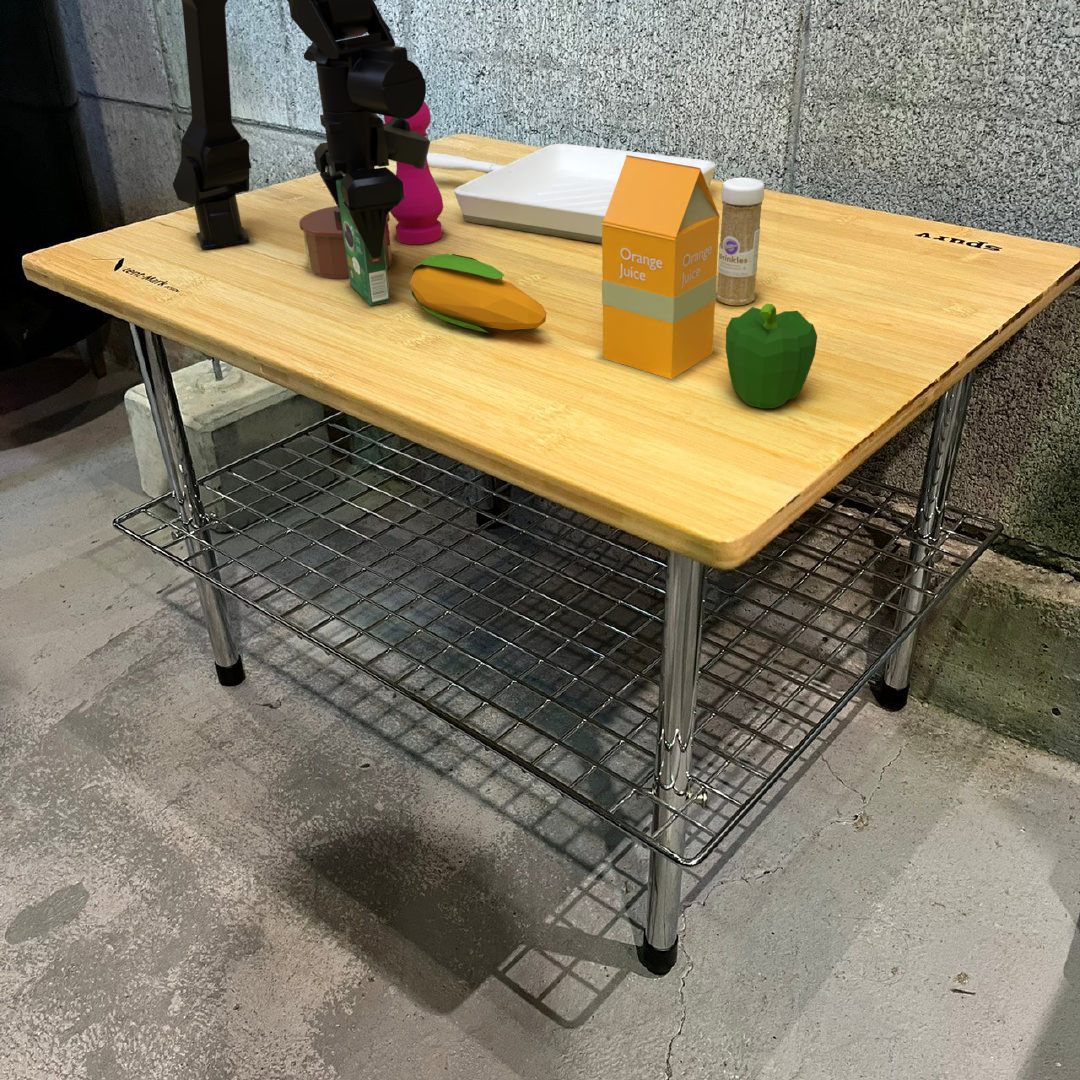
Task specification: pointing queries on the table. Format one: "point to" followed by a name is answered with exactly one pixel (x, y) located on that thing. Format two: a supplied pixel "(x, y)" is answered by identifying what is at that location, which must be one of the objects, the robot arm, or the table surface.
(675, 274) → the orange juice
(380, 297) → the coffee box
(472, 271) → the corn
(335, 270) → the pot
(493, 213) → the pan
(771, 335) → the bell pepper
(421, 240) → the pepper mill
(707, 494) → the table surface
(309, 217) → the pot lid
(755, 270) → the sprinkles bottle
